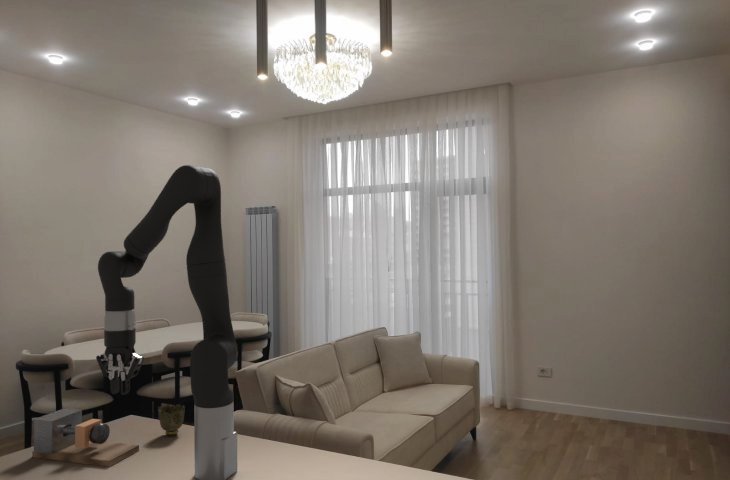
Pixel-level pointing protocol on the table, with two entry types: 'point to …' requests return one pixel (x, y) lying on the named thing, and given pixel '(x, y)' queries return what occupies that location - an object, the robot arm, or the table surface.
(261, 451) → the table surface
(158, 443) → the table surface
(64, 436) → the block
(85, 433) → the spacer
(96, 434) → the shaft
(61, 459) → the baseboard
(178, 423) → the cup
